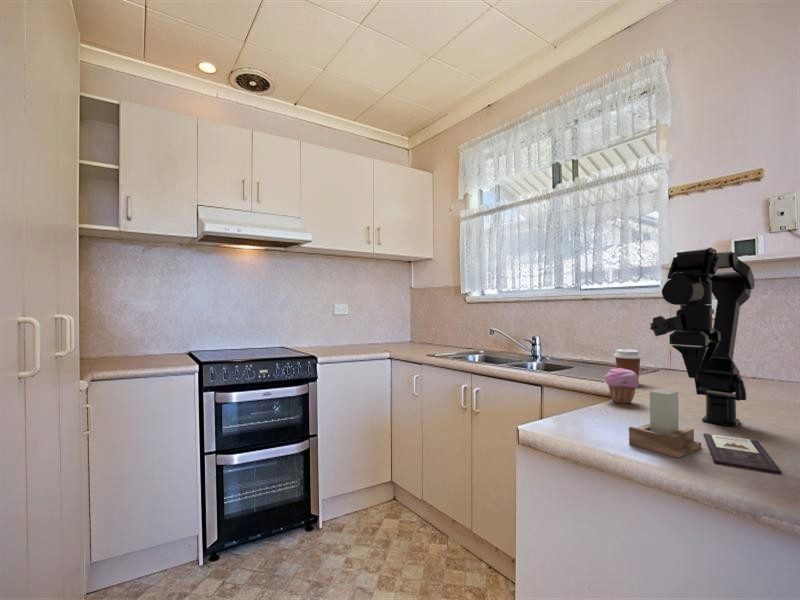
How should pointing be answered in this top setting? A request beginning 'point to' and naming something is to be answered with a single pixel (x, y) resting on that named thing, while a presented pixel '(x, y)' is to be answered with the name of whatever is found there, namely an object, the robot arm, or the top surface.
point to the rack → (664, 440)
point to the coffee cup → (628, 360)
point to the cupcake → (622, 384)
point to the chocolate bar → (740, 453)
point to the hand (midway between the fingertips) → (696, 375)
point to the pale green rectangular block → (664, 411)
